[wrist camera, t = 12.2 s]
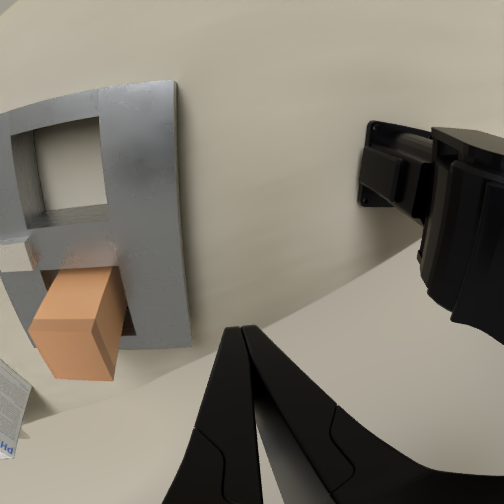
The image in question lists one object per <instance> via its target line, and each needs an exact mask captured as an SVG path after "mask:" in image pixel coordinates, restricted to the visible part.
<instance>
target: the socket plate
mask: <svg viewBox="0 0 504 504" xmlns="http://www.w3.org/2000/svg"><path fill="white" fill-rule="evenodd" d="M96 116H99V127H100V142H101V153H102V164H103V173H104V182H105V189H106V197H107V204H103V205H94V206H84V207H76V208H67V209H59V210H51V211H45V208H44V203H43V198H42V193H41V187H40V182H39V175H38V169H37V162H36V154H35V146H34V136H33V129H37V128H41V127H46V126H50V125H54V124H59V123H64V122H69V121H74V120H79V119H84V118H90V117H96ZM107 266H119V269H120V273H121V278H122V282H123V286H124V290H125V294H126V298H127V302H128V306H129V310H126V313H125V318H124V323H123V328H122V333H121V338H120V343H119V349H118V350H133V349H162V348H182V347H192V333H191V317H190V309H189V301H188V292H187V283H186V273H185V263H184V252H183V240H182V227H181V213H180V197H179V178H178V152H177V82H175V81H174V80H165V81H153V82H143V83H134V84H126V85H119V86H112V87H106V88H100V89H94V90H89V91H84V92H79V93H74V94H69V95H65V96H61V97H56V98H52V99H49V100H45V101H41V102H37V103H34V104H30V105H27V106H24V107H20V108H17V109H14V110H11V111H8V112H5V113H2V114H0V277H1V279H2V282H3V284H4V286H5V289H6V291H7V294H8V296H9V298H10V300H11V303H12V305H13V307H14V309H15V311H16V313H17V316H18V318H19V320H20V322H21V324H22V326H23V328H24V330H25V332H26V333H27V335H28V337H29V339H30V341H31V343H32V345H33V346H34V348H37V347H36V345H35V343H34V341H33V340H32V338H31V336H30V334H29V332H28V329H29V327H30V325H31V323H32V321H33V319H34V317H35V315H36V313H37V311H38V309H39V307H40V305H41V303H42V301H43V300H44V298H45V296H46V294H47V292H48V290H49V288H50V287H51V285H52V283H53V281H54V280H55V278H56V276H57V274H58V273H59V271H60V269H73V268H90V267H107Z"/></svg>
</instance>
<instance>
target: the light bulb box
mask: <svg viewBox="0 0 504 504" xmlns="http://www.w3.org/2000/svg"><path fill="white" fill-rule="evenodd" d="M31 388H32V385H31V384H29V383H28V382H27V381H26V380H24V379H23V378H22V377H21V376H19V375H18V374H17V373H16V372H15V371H13V370H12V369H11V368H10V367H9V366H8V365H6V364H5V363H4V362H3V361H2V360H1V359H0V459H14V456H15V451H16V446H17V442H18V437H19V432H20V428H21V424H22V420H23V416H24V412H25V409H26V405H27V402H28V398H29V395H30V391H31Z"/></svg>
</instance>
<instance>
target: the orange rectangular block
mask: <svg viewBox="0 0 504 504" xmlns="http://www.w3.org/2000/svg"><path fill="white" fill-rule="evenodd" d="M127 304H128V302H127V298H126V294H125V290H124V286H123V282H122V278H121V273H120V269H119V266H107V267H90V268H73V269H60V271H59V273H58V274H57V276H56V278H55V280H54V281H53V283H52V285H51V287H50V288H49V290H48V292H47V294H46V296H45V298H44V300H43V301H42V303H41V305H40V307H39V309H38V311H37V313H36V315H35V317H34V319H33V321H32V323H31V325H30V327H29V329H28V332H29V334H30V336H31V338H32V340H33V341H34V343H35V345H36V347H37V349H38V350H39V352H40V354H41V356H42V357H43V359H44V361H45V362H46V364H47V366H48V367H49V369H50V371H51V372H52V374H53V375H54V377H55V378H56V379H70V380H89V381H113V380H114V373H115V367H116V360H117V355H118V349H119V343H120V338H121V333H122V328H123V323H124V318H125V313H126V308H127Z"/></svg>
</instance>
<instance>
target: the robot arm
mask: <svg viewBox="0 0 504 504" xmlns="http://www.w3.org/2000/svg"><path fill="white" fill-rule="evenodd" d="M374 125H376V129H375V130H374V129H373V127H374ZM428 137H429V139H428ZM364 198H366V200H365V201H364V202H363V199H364ZM358 203H359V204H360V205H362V206H364V207H396V208H397V209H399V210H400V211H402V212H403V213H404V214H406V215H407V216H409V217H410V218H412V219H413V220H414V221H416V222H417V223H418V224H420V225H421V226H423V227H424V229H423V235H422V241H421V246H420V250H418V254H417V260H418V262H419V264H420V272H421V277H422V279H423V281H424V283H425V285H426V287H427V288H428V290H427V294H428V295H429V296H430V297H431V298H432V299H433V300H434V301H435V302H436V303H437V304H438V305H440V306H441V307H443V308H445V309H446V310H448V311H450V312H452V315H451V318H450V320H451V321H452V322H455V323H461V324H466V325H469V326H472V327H474V328H477V329H480V330H482V331H483V332H485V333H487V334H488V335H490V336H492V337H493V338H494V339H496V340H497V341H498V342H500V343H502V344H503V345H504V138H501V137H498V136H495V135H491V134H488V133H484V132H481V131H477V130H468V129H456V128H443V127H431V132H429V131H425V130H420V129H416V128H411V127H407V126H402V125H397V124H391V123H386V122H380V121H375V120H372V121H370V122H369V123H368V126H367V135H366V144H365V148H364V151H363V159H362V167H361V174H360V188H359V194H358ZM256 424H257V427H258V430H259V433H260V436H261V439H262V441H263V445H264V447H265V451H266V454H267V457H268V459H269V462H270V465H271V468H272V471H273V473H274V476H275V479H276V482H277V484H278V487H279V490H280V493H281V495H282V498H283V501H284V503H285V504H504V476H489V475H474V474H462V473H453V472H445V471H438V470H434V469H431V468H427V467H425V466H423V465H421V464H419V463H417V462H415V461H413V460H412V459H410V458H409V457H407V456H405V455H404V454H402V453H401V452H399V451H398V450H396V449H395V448H393V447H392V446H390V445H389V444H387V443H386V442H384V441H382V440H381V439H379V438H378V437H377V436H375V435H374V434H373V433H371V432H370V431H368V430H367V429H366V428H365V427H363V426H362V425H361V424H360V423H358V422H357V421H356V420H355V419H354V418H353V417H351V416H350V415H349V414H348V413H347V412H346V411H345V410H344V409H342V408H341V407H340V406H339V405H338V406H337V403H336V402H335V401H334V400H333V399H332V398H330V397H329V396H328V395H327V394H326V393H325V392H324V391H323V390H322V389H321V388H320V387H319V386H318V385H317V384H316V383H314V382H313V381H312V380H311V379H310V378H309V377H308V376H307V375H306V374H305V373H304V372H303V371H302V370H301V369H300V368H299V367H298V366H297V365H296V364H295V363H294V362H293V361H292V360H291V359H290V358H289V357H288V356H287V355H286V354H284V352H283V351H282V350H281V349H280V348H278V347H277V346H276V345H275V344H274V343H273V342H272V341H271V340H270V339H269V338H268V337H267V336H266V335H265V333H263V331H262V330H261V329H260V328H259V327H258V326H256V325H246V326H242V327H241V328H240V327H239V326H235V327H226V328H225V330H224V333H223V336H222V339H221V342H220V345H219V349H218V352H217V355H216V358H215V361H214V365H213V368H212V371H211V374H210V377H209V381H208V384H207V387H206V390H205V394H204V397H203V400H202V403H201V406H200V409H199V413H198V416H197V419H196V422H195V426H194V427H195V428H194V429H193V431H192V434H191V438H190V441H189V444H188V447H187V449H186V452H185V455H184V458H183V460H182V463H181V465H180V467H179V469H178V471H177V474H176V476H175V478H174V480H173V482H172V484H171V486H170V488H169V490H168V492H167V494H166V496H165V498H164V500H163V502H162V504H263V495H262V484H261V474H260V463H259V453H258V442H257V431H256Z"/></svg>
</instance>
